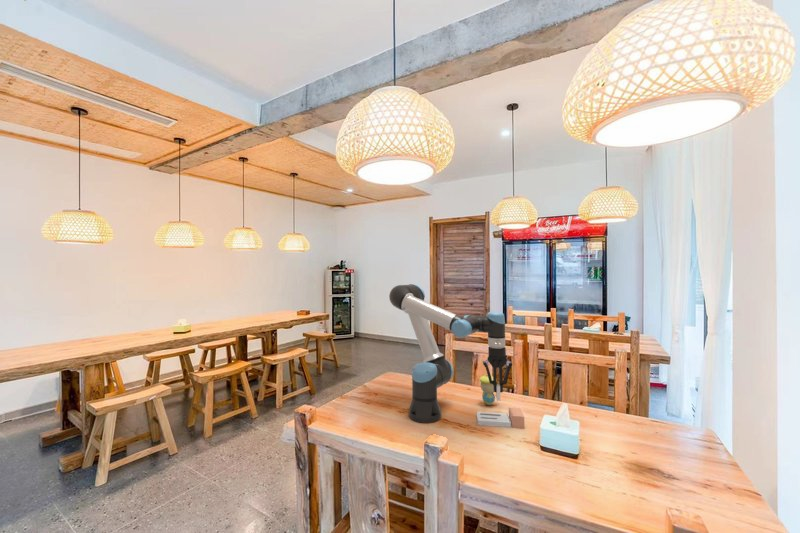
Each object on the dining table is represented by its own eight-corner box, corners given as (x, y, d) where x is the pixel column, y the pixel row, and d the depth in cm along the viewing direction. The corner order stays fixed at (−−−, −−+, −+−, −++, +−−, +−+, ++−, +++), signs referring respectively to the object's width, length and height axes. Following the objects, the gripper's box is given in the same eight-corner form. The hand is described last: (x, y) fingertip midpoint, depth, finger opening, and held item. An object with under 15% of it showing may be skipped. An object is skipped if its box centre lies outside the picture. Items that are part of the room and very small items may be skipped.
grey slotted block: (478, 425, 140) (477, 420, 140) (476, 416, 149) (476, 411, 149) (511, 427, 138) (511, 422, 138) (507, 418, 147) (507, 413, 147)
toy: (499, 407, 158) (499, 377, 159) (481, 407, 158) (481, 377, 159) (495, 401, 166) (495, 372, 166) (478, 401, 166) (477, 372, 167)
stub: (512, 427, 138) (512, 415, 138) (508, 418, 147) (508, 407, 147) (524, 428, 137) (524, 416, 137) (520, 419, 146) (520, 407, 146)
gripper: (482, 348, 141) (484, 401, 141) (513, 348, 139) (515, 403, 138) (481, 344, 149) (482, 395, 148) (510, 345, 147) (512, 396, 146)
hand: (498, 399), depth 143 cm, fingers closed
